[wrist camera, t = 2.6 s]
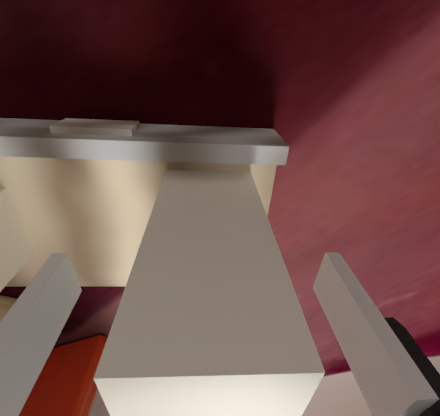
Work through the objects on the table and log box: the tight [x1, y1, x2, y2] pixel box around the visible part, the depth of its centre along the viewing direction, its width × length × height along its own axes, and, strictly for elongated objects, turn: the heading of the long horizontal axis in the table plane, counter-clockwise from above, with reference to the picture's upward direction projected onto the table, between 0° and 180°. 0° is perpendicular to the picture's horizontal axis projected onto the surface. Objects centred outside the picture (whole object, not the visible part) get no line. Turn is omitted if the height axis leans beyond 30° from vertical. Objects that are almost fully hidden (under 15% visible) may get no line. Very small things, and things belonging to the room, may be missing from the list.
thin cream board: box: [0, 118, 289, 287], centre depth 16 cm, size 24×12×4 cm, turn 87°
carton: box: [93, 170, 325, 416], centre depth 12 cm, size 8×5×11 cm, turn 177°
